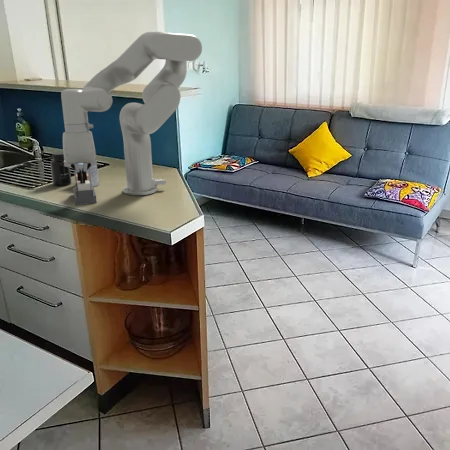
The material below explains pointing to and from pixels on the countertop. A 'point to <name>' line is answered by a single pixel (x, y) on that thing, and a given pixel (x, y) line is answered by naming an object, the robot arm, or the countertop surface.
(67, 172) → the supplement bottle
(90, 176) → the medicine box
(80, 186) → the ivory key
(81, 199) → the key panel
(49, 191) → the countertop surface
